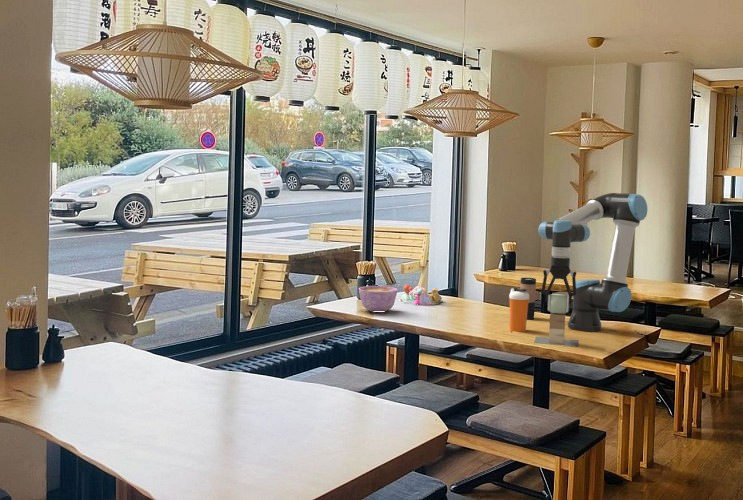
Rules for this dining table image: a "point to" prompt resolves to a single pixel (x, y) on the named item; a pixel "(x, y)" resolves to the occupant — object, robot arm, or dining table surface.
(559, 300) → the pale green cube
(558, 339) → the block bottom
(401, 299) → the colourful toy figurine cluster
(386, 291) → the bowl of food
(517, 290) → the shaker bottle
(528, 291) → the travel mug
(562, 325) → the block top
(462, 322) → the dining table surface
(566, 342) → the slate board
